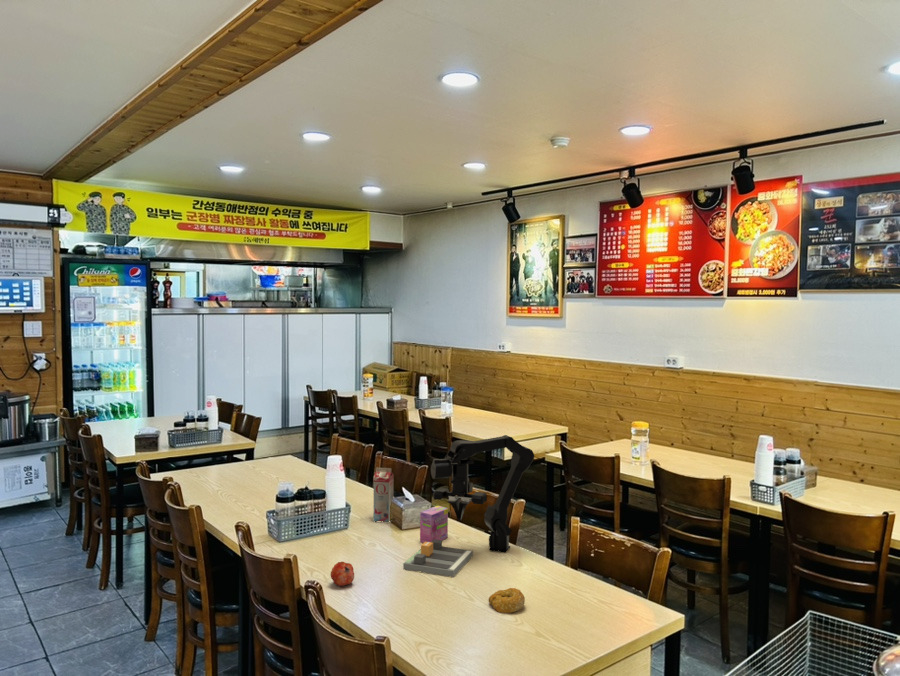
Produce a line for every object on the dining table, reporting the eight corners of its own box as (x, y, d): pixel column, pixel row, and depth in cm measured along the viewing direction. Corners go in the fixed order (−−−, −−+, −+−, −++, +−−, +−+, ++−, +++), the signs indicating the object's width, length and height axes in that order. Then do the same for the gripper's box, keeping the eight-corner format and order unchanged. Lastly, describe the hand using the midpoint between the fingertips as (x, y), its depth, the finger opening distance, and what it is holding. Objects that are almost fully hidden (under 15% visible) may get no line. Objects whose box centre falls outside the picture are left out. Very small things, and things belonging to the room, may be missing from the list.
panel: (472, 556, 227) (472, 543, 227) (453, 577, 208) (453, 563, 208) (426, 549, 234) (426, 537, 233) (403, 569, 215) (403, 556, 215)
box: (431, 545, 237) (431, 514, 237) (419, 542, 241) (419, 511, 240) (448, 538, 246) (448, 507, 245) (436, 535, 249) (436, 505, 249)
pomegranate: (327, 591, 203) (335, 581, 195) (326, 568, 207) (334, 557, 200) (350, 590, 206) (358, 580, 198) (348, 567, 210) (357, 556, 203)
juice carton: (388, 522, 264) (389, 470, 263) (373, 521, 265) (373, 469, 264) (393, 518, 270) (393, 466, 269) (378, 517, 271) (378, 465, 271)
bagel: (499, 595, 195) (499, 580, 195) (531, 605, 189) (531, 590, 188) (481, 607, 187) (481, 591, 187) (513, 618, 181) (513, 602, 180)
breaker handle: (433, 552, 224) (433, 542, 224) (428, 556, 220) (428, 546, 220) (425, 551, 225) (425, 541, 225) (420, 555, 221) (420, 544, 221)
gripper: (491, 473, 232) (491, 516, 233) (443, 469, 239) (443, 510, 239) (482, 481, 222) (481, 525, 222) (432, 476, 229) (432, 519, 229)
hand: (459, 519), depth 229 cm, fingers closed
